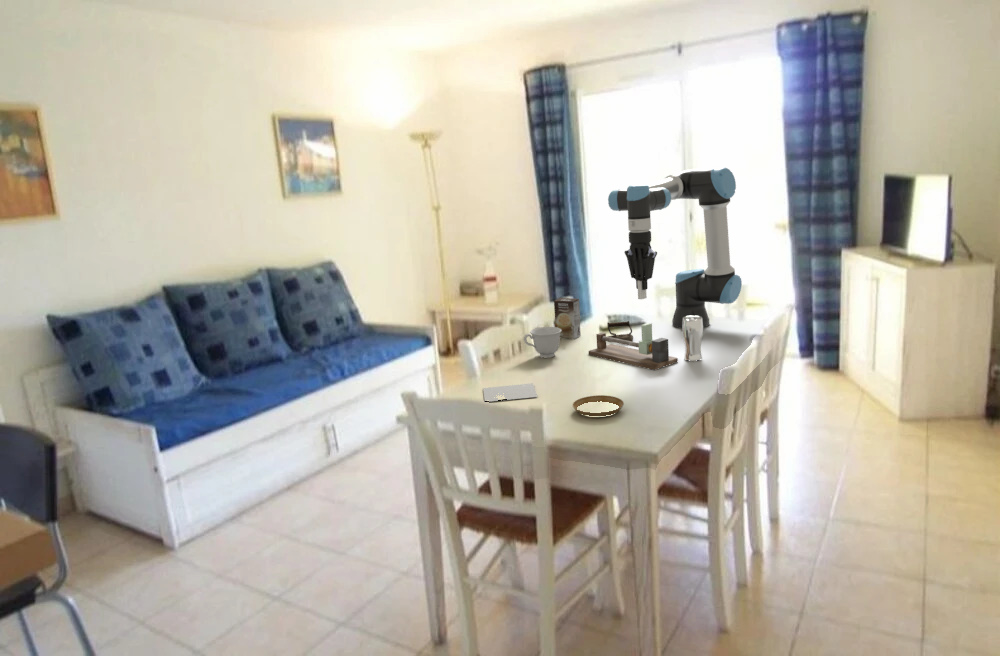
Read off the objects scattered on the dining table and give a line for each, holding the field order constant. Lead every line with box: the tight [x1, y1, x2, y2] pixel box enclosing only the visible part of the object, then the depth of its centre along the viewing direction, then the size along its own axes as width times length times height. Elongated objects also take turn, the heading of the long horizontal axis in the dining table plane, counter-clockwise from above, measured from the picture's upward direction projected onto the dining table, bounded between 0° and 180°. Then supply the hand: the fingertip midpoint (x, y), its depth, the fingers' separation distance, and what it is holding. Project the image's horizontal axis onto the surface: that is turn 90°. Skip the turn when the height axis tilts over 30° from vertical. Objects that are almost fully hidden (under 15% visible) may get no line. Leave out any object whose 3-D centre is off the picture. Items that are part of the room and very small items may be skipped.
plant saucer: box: [572, 394, 624, 416], centre depth 199 cm, size 15×15×3 cm
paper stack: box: [482, 383, 538, 403], centre depth 226 cm, size 23×25×1 cm
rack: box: [588, 332, 679, 371], centre depth 247 cm, size 12×32×9 cm, turn 37°
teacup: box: [523, 326, 562, 359], centre depth 259 cm, size 12×15×10 cm
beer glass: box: [681, 316, 704, 362], centre depth 239 cm, size 7×7×15 cm
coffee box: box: [553, 297, 581, 340], centre depth 284 cm, size 9×6×16 cm
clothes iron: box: [606, 320, 634, 342], centre depth 273 cm, size 7×11×10 cm, turn 78°
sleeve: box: [638, 322, 654, 355], centre depth 240 cm, size 5×4×10 cm
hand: (642, 298), depth 238 cm, fingers closed
